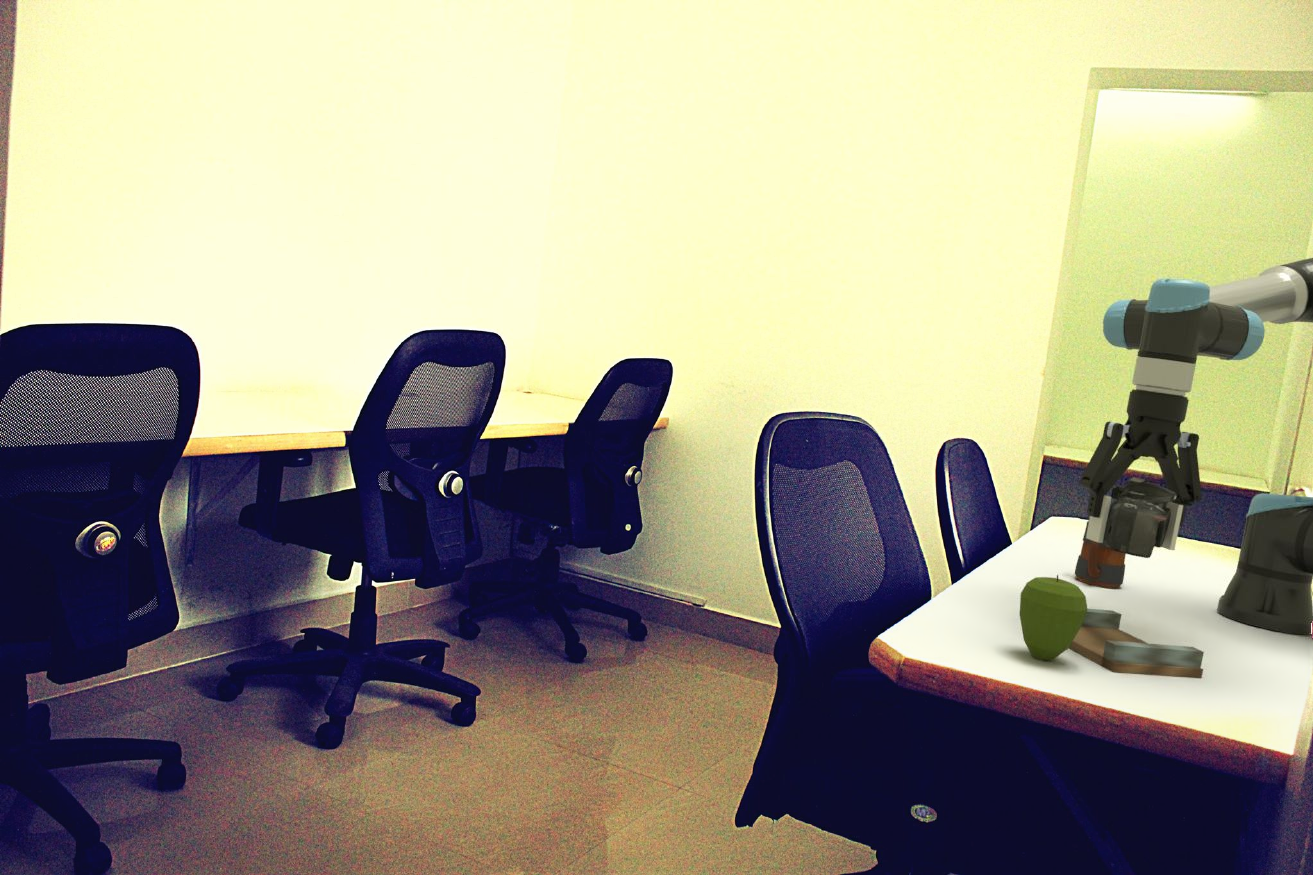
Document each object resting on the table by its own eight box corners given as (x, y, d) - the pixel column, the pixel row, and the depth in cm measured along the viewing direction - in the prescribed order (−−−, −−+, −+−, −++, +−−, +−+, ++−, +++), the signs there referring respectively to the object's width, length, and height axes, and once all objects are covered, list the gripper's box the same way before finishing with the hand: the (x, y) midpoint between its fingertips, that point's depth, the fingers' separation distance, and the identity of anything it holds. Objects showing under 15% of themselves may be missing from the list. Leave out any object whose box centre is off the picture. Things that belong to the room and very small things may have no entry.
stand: (1106, 631, 163) (1110, 609, 162) (1201, 677, 144) (1206, 652, 143) (1027, 625, 159) (1031, 602, 159) (1113, 671, 140) (1118, 646, 140)
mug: (1062, 581, 199) (1073, 520, 198) (1081, 575, 209) (1092, 517, 207) (1109, 593, 194) (1121, 531, 193) (1127, 586, 203) (1138, 527, 202)
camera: (1182, 564, 143) (1197, 492, 142) (1106, 552, 144) (1119, 480, 143) (1152, 546, 156) (1165, 479, 155) (1082, 535, 157) (1094, 469, 156)
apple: (1077, 674, 136) (1094, 587, 135) (1009, 658, 139) (1025, 573, 138) (1075, 657, 145) (1091, 575, 143) (1011, 643, 147) (1025, 562, 146)
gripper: (1210, 398, 154) (1181, 545, 156) (1070, 378, 148) (1042, 530, 150) (1250, 404, 147) (1219, 557, 149) (1104, 382, 141) (1074, 543, 143)
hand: (1130, 544), depth 150 cm, fingers closed on camera, 11 cm apart
